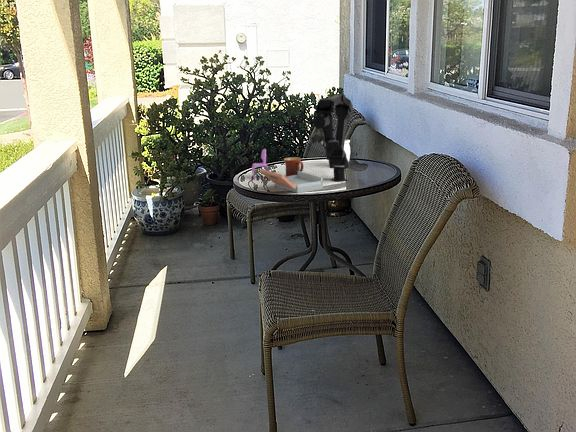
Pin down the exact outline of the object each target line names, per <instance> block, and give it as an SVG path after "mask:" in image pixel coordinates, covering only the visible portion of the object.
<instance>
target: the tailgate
mask: <svg viewBox="0 0 576 432" xmlns="http://www.w3.org/2000/svg"><path fill="white" fill-rule="evenodd" d="M259 172H260V173H261V174H263V175H264V176H265V177H266V178H267V179H268V180H270V181H271V182H272V183H274V184H275V183H277V184H280V185H283V186H286V187H290V188H293V189H295V188H296V186H295V185H293V184H292V183H291V182H290V181H289V180H288V179H287V178H286V176H284V174H281V173H277V172H274V171H271V170H269V171H267V170H266V169H263V168H260V169H259Z"/></svg>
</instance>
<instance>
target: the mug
mask: <svg viewBox="0 0 576 432" xmlns="http://www.w3.org/2000/svg"><path fill="white" fill-rule="evenodd" d="M301 159H302V158H301V157H296V156H292V157H285V158H283V161H284V164H285V166H284V167H285V177H287V176H293V175H298V171H301V172H304V162H303V161H301Z"/></svg>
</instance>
